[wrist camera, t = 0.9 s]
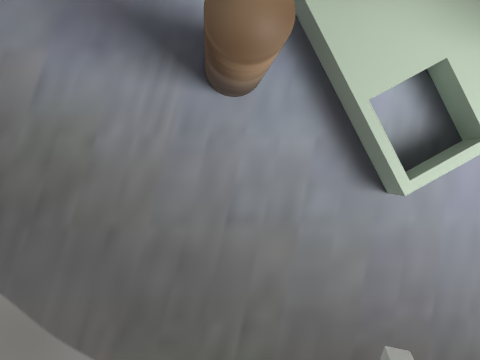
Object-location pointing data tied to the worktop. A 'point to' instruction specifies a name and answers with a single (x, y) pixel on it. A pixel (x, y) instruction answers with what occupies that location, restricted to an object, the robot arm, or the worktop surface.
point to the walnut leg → (243, 41)
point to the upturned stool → (400, 70)
